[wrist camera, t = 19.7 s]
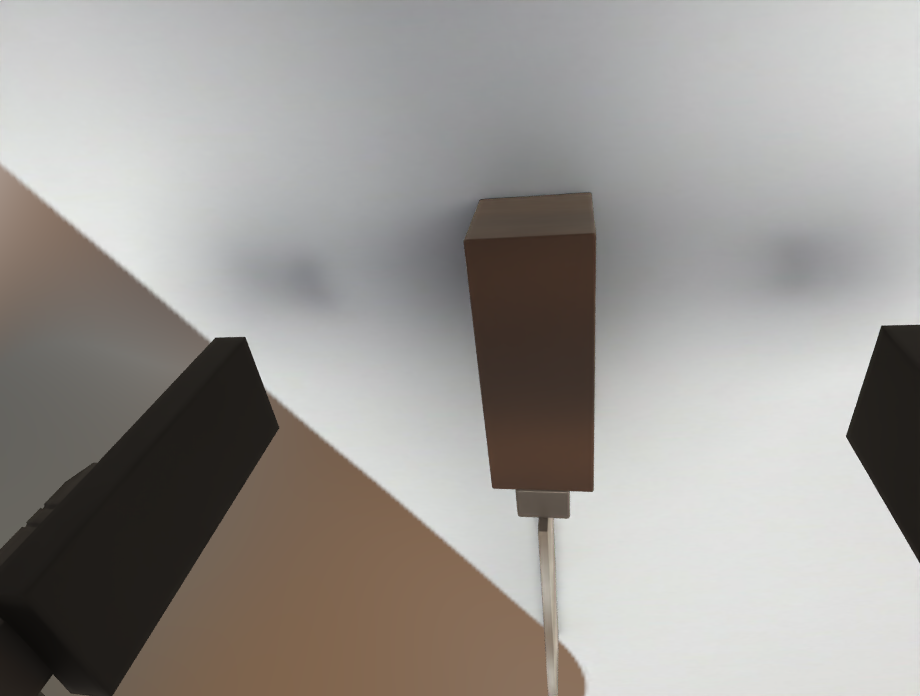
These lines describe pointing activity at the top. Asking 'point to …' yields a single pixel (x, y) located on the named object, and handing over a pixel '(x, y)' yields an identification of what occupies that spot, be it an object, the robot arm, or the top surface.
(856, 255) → the top surface
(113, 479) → the robot arm
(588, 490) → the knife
